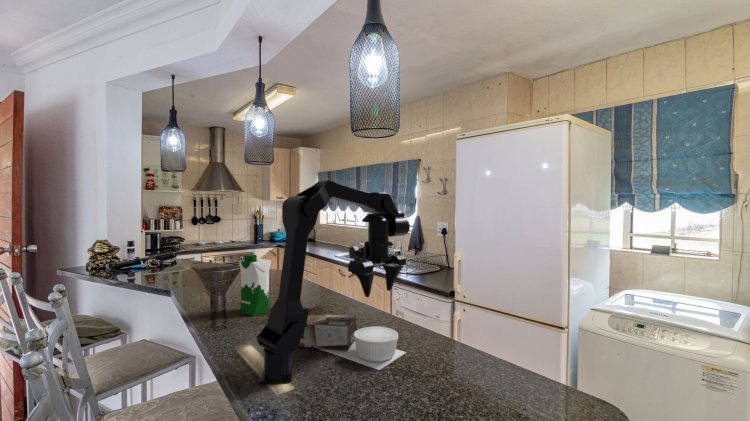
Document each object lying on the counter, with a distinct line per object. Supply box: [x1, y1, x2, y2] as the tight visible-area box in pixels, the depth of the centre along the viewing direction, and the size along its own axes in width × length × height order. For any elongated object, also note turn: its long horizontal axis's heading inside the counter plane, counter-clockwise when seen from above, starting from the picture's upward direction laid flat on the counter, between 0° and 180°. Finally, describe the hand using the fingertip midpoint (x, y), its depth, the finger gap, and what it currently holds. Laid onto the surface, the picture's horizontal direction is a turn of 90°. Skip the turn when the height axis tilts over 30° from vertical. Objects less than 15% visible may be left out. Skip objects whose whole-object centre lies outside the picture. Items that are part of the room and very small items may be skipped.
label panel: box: [316, 341, 407, 371], centre depth 92 cm, size 22×12×1 cm, turn 54°
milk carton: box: [238, 253, 272, 317], centre depth 123 cm, size 9×9×20 cm
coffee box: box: [298, 313, 358, 350], centre depth 96 cm, size 9×6×16 cm
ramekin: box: [354, 326, 399, 362], centre depth 89 cm, size 11×11×5 cm
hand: (378, 293), depth 99 cm, fingers open, 9 cm apart
